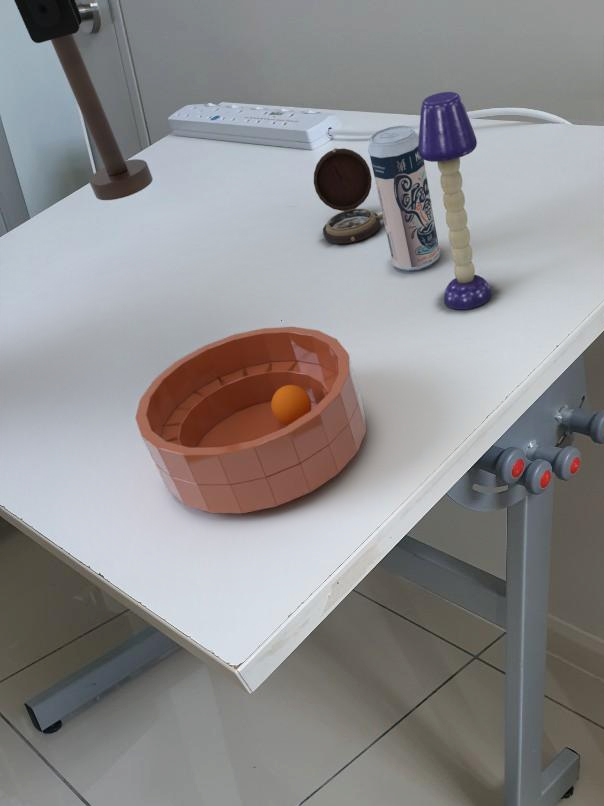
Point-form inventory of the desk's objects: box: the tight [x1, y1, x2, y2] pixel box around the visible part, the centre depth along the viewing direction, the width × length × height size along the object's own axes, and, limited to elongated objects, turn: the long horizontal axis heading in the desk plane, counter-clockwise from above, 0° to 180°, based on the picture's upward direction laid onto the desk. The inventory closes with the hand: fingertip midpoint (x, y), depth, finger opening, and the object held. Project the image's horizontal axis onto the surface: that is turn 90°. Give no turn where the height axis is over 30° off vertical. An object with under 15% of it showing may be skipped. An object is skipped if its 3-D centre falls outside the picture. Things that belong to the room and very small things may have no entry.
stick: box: [50, 34, 153, 201], centre depth 60 cm, size 4×4×16 cm
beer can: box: [367, 125, 441, 272], centre depth 80 cm, size 5×5×12 cm
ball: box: [271, 385, 311, 425], centre depth 66 cm, size 3×3×3 cm
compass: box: [313, 147, 384, 244], centre depth 90 cm, size 8×8×7 cm
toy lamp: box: [418, 91, 493, 310], centre depth 72 cm, size 5×5×17 cm
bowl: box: [135, 326, 367, 514], centre depth 64 cm, size 16×16×6 cm
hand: (58, 31), depth 58 cm, fingers closed on stick, 1 cm apart
